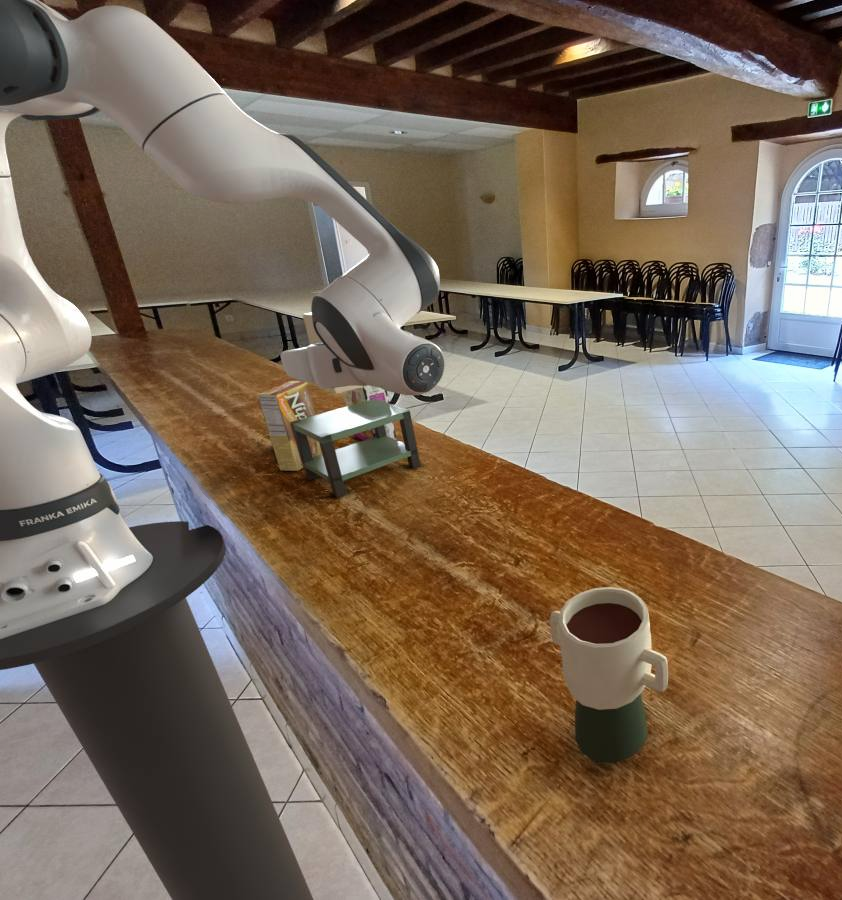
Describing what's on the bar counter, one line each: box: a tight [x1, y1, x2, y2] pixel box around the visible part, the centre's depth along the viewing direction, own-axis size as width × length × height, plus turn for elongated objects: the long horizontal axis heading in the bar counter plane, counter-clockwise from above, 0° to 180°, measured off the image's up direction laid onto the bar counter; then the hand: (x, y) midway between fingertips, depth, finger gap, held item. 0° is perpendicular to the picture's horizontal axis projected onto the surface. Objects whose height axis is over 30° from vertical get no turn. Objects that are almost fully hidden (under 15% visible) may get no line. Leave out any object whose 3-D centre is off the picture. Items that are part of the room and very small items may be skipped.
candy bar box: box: [342, 385, 398, 441], centre depth 116 cm, size 11×5×16 cm, turn 48°
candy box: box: [257, 380, 322, 472], centre depth 106 cm, size 9×4×15 cm, turn 171°
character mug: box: [549, 586, 669, 764], centre depth 45 cm, size 11×7×13 cm, turn 56°
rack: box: [290, 399, 421, 498], centre depth 101 cm, size 16×13×11 cm
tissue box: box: [302, 312, 364, 395], centre depth 94 cm, size 6×6×13 cm
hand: (331, 347), depth 94 cm, fingers closed on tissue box, 5 cm apart
